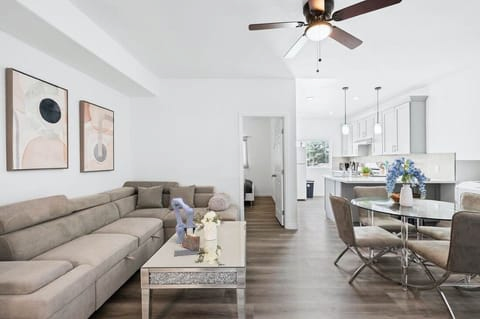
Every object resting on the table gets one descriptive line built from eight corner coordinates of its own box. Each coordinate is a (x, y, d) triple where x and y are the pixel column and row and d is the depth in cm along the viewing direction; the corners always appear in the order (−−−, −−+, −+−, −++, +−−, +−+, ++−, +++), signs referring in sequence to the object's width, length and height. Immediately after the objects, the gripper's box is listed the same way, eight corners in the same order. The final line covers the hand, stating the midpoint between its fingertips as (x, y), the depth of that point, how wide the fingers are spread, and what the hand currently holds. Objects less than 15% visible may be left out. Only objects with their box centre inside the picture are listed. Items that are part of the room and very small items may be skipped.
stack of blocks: (181, 246, 245) (182, 232, 246) (187, 245, 249) (188, 232, 250) (193, 250, 228) (194, 236, 230) (199, 249, 233) (200, 235, 234)
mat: (174, 251, 232) (174, 250, 232) (206, 248, 238) (206, 248, 238) (174, 256, 218) (174, 256, 218) (207, 253, 224) (207, 253, 224)
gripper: (181, 222, 241) (182, 237, 241) (197, 221, 245) (197, 236, 244) (181, 221, 248) (182, 235, 248) (197, 220, 252) (197, 234, 251)
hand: (189, 235), depth 247 cm, fingers open, 5 cm apart
